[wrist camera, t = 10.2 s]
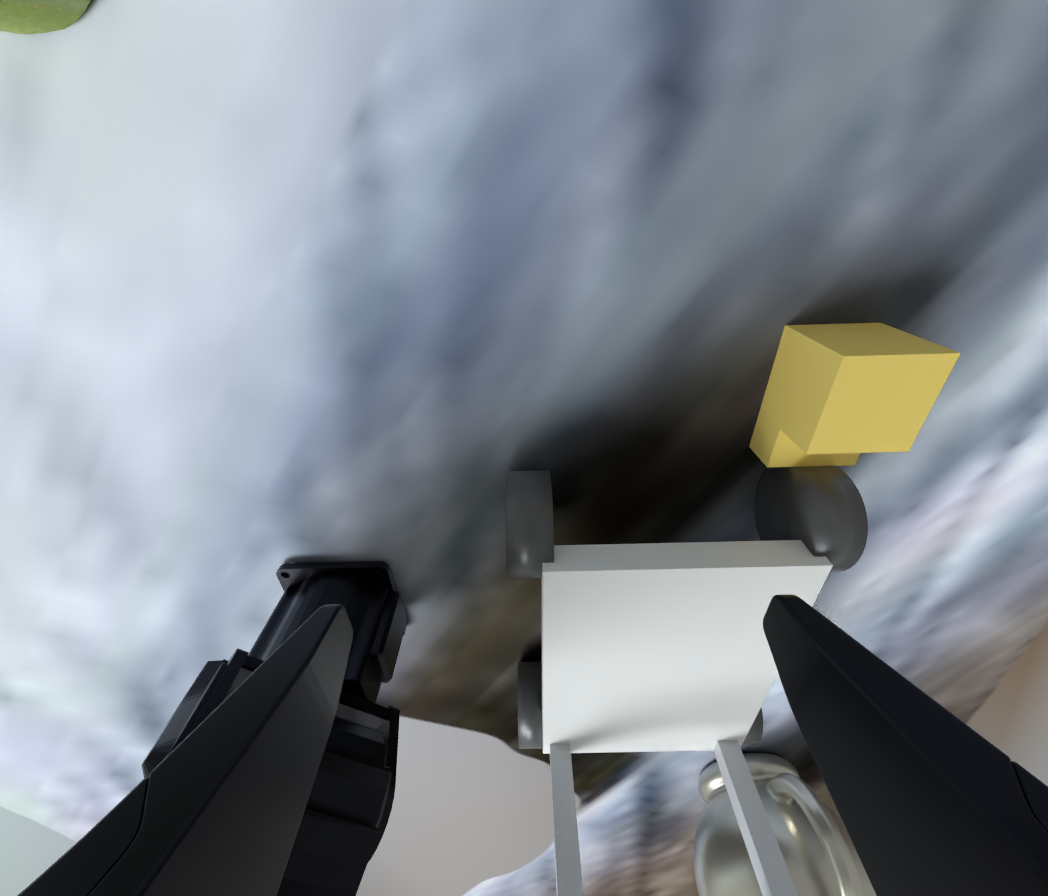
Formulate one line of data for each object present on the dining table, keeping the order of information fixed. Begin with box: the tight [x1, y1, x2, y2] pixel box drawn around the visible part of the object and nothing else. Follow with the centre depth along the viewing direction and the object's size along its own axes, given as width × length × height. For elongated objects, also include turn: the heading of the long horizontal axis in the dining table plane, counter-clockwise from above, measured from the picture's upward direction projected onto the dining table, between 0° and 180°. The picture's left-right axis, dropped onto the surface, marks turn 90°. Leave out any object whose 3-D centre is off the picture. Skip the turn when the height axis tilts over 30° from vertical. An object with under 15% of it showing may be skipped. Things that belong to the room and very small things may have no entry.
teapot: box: [694, 753, 877, 896], centre depth 32 cm, size 18×14×16 cm
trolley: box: [506, 466, 868, 896], centre depth 21 cm, size 21×15×14 cm
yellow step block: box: [749, 323, 960, 468], centre depth 18 cm, size 4×6×4 cm, turn 2°
